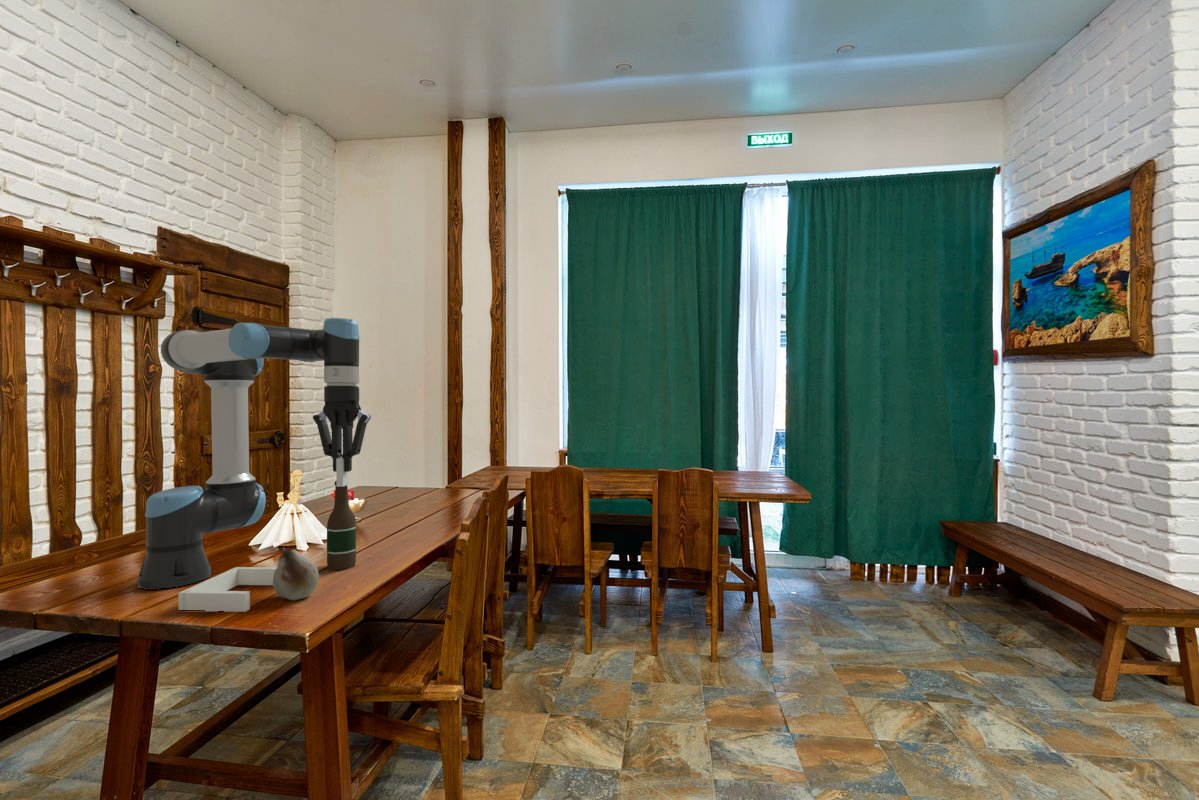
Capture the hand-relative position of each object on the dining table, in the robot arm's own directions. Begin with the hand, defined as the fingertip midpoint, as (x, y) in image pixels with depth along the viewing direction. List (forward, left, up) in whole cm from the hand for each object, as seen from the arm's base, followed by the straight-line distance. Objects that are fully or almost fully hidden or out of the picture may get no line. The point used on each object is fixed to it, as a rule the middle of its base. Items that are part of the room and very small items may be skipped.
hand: (342, 485), depth 134 cm
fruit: (-11, 0, -27) cm, 29 cm away
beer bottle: (-12, +24, -26) cm, 38 cm away
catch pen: (-24, 0, -26) cm, 36 cm away
